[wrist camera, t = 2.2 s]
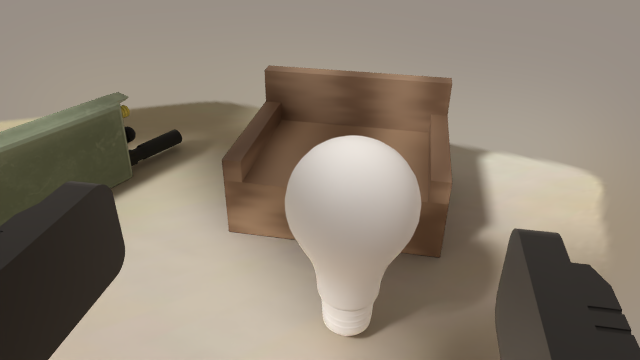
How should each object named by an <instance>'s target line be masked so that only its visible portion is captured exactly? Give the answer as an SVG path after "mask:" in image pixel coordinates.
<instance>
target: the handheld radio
mask: <svg viewBox="0 0 640 360" xmlns="http://www.w3.org/2000/svg"><path fill="white" fill-rule="evenodd" d="M127 98H128V96H126V95H124V94H121V93H119V92H118V93H113V94H110V95H106V96H103V97H101V98H98V99H95V100H92V101H89V102H86V103H83V104H80V105H77V106H74V107H71V108H68V109H66V110H63V111H60V112H57V113H54V114H51V115H48V116H45V117H42V118H39V119H37V120H34V121H31V122H28V123H25V124H22V125H19V126H16V127H13V128H11V129H8V130H5V131H2V132H0V226H1V225H2V224H4V223H5V222H6V221H8V220H9V219H10V218H11V217H13V216H14V215H15V214H17V213H19V212H21V211H24V210H26V209H28V208H30V207H32V206H34V205H36V204H38V203H40V202H41V201H42V200H44V199H45V198H46V197H47V196H49V195H50V194H51V193H52V192H54V191H55V190H56V189H57V188H59V187H60V186H61V185H63V184H64V183H66V182H68V181H75V182H85V183H95V184H104V185H106V186H108V187H109V188H112V187H114V186H116V185H118V184H120V183H122V182H124V181H126V180H128V179H130V178H131V177H132V176H133V173H132V168H131V166H133V165H135V164H137V163H138V161H140V160H142V159H143V160H144V159H146V158H149V157H151V156H153V155H155V154H157V153H159V152H162V151H164V150H166V149H168V148H170V147H173V146H175V145H177V144H179V143H181V142H182V136H181V134H180V132H179V131H177V130H172V131H170V132H168V133H165V134H163V135H161V136H159V137H156V138H154V139H152V140H150V141H148V142H145V143H143V144H141V145H139V146H137V148H136V149H133V150H128V145H127V143H129V142H131V141H133V140H134V139H135V135H136V134H135V131H134V130H133V129H132V128H131V127H124V123H123V118H125V117H127V116H129V114H130V111H129V109H128V107H127V106H124V105H122V106H120V103H121V102H123V101H125V100H126V99H127Z"/></svg>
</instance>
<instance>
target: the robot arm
mask: <svg viewBox="0 0 640 360" xmlns="http://www.w3.org/2000/svg"><path fill="white" fill-rule="evenodd" d="M124 257H125V245H124V240H123V236H122V231H121V227H120V223H119V219H118V214H117V210H116V206H115V201H114V197H113V194H112V191H111V190H110V188H109V187H108V186H106V185H104V184H95V183H85V182H75V181H68V182H66V183H64V184H63V185H61V186H60V187H59V188H57V189H56V190H55V191H54V192H52V193H51V194H50V195H49V196H47V197H46V198H45V199H44V200H42V201H41V202H40V203H38V204H36V205H34V206H32V207H30V208H28V209H26V210H24V211H21V212H19V213H17V214H15V215H14V216H13V217H11V218H10V219H9V220H8V221H6V222H5V223H4V224H2V225H1V226H0V360H48V359H49V358H50V357H51V355H52V354H53V353H54V352H55V351H56V349H57V348H58V347H59V346H60V345H61V343H62V342H63V341H64V340H65V338H66V337H67V336H68V335H69V334H70V332H71V331H72V330H73V329H74V327H75V326H76V325H77V324H78V323H79V321H80V320H81V319H82V318H83V316H84V315H85V314H86V313H87V312H88V310H89V309H90V308H91V307H92V305H93V304H94V303H95V302H96V301H97V299H98V298H99V297H100V296H101V294H102V293H103V292H104V291H105V290H106V288H107V287H108V286H109V285H110V283H111V282H112V281H113V280H114V279H115V277H116V276H117V275H118V273H119V272H120V270H121V268H122V265H123V262H124ZM495 323H496V332H497V338H498V345H499V352H500V358H501V360H640V348H639V346H638V344H637V341H636V339H635V337H634V335H631V328H630V326H629V324H628V322H627V320H626V317H625V315H623V314H622V309H621V306H620V304H619V302H618V300H617V298H616V296H615V293H614V291H613V289H612V287H611V286H610V285H609V284H608V283H607V282H606V281H605V280H604V279H603V278H602V277H601V276H600V275H599V274H598V273H597V272H596V271H595V270H594V269H593V268H592V267H591V266H590V265H587V264H578V263H571V262H570V259H569V256H568V254H567V251H566V248H565V246H564V243H563V240H562V238H561V236H560V234H558V233H553V232H544V231H534V230H524V229H514V230H513V231H512V233H511V236H510V240H509V244H508V248H507V253H506V257H505V261H504V266H503V270H502V274H501V279H500V283H499V287H498V292H497V297H496V307H495Z"/></svg>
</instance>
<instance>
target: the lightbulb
mask: <svg viewBox="0 0 640 360" xmlns="http://www.w3.org/2000/svg"><path fill="white" fill-rule="evenodd" d="M420 211H421V196H420V190H419V186H418V182H417V179H416V176H415V174H414V173H413V171H412V169H411V168H410V166H409V165H408V163H407V161H406V160H405V159H404V158H403V157H402V156H401V155H400V154H399V153H398V152H397V151H396V150H395V149H393V148H391V147H390V146H388V145H386V144H385V143H383V142H381V141H379V140H376V139H373V138H369V137H364V136H356V135H350V136H342V137H336V138H332V139H330V140H327V141H325V142H323V143H321V144H319V145H317V146H315V147H314V148H312V149H311V150H310V151H309V152H308V153H307V154H306V155H305V156H304V157H303V158H302V159H301V160H300V161H299V163H298V164H297V165H296V167H295V168H294V170H293V172H292V174H291V176H290V179H289V181H288V185H287V190H286V195H285V212H286V218H287V221H288V224H289V228H290V230H291V232H292V234H293V236H294V237H295V239H296V241H297V242H298V244H299V245H300V247H301V248H302V250H303V251H304V252H305V254H306V255H307V256H308V258H309V259H310V260H311V262H312V264H313V267H314V269H315V273H316V278H317V289H318V293H319V295H320V297H321V298H322V312H323V320H324V323H325V325H326V326H327V327H328V328H329V329H330V330H331V331H333V332H334V333H336V334H339V335H343V336H353V335H357V334H359V333H361V332H363V331H364V330H365V329H366V328H367V327H368V326H369V324H370V320H371V316H372V309H373V303H374V301H375V300H376V298H377V296H378V294H379V290H380V284H381V280H382V277H383V275H384V272H385V270H386V269H387V267H388V265H389V264H390V263H391V262H392V261H393V260H394V259H395V258H396V257H397V256H398V255H399V254H400V253H401V251H402V250H403V249H404V248H405V246H406V245H407V244H408V243H409V241H410V240H411V238H412V236H413V234H414V232H415V230H416V227H417V225H418V223H419V218H420Z"/></svg>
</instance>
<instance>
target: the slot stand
mask: <svg viewBox="0 0 640 360" xmlns="http://www.w3.org/2000/svg"><path fill="white" fill-rule="evenodd" d="M265 87H266V102H265V103H264V105H263V106H262V107H261V109H260V110H259V111H258V113H257V114H256V115H255V117H254V118H253V119H252V121H251V122H250V123H249V125H248V126H247V127H246V128H245V130H244V131H243V132H242V134H241V135H240V136H239V138H238V139H237V140H236V142H235V143H234V144H233V146H232V147H231V148H230V150H229V151H228V152H227V154H226V155H225V156H224V158H223V159H222V166H223V176H224V186H225V196H226V206H227V215H228V225H229V231H230V232H238V233H246V234H254V235H262V236H270V237H279V238H287V239H295V237H294V236H293V234H292V232H291V230H290V228H289V224H288V221H287V218H286V212H285V195H286V190H287V185H288V181H289V179H290V176H291V174H292V172H293V170H294V168H295V167H296V165H297V164H298V163H299V161H300V160H301V159H302V158H303V157H304V156H305V155H306V154H307V153H308V152H309V151H310V150H311V149H312V148H314V147H315V146H317V145H319V144H321V143H323V142H325V141H327V140H330V139H332V138H336V137H342V136H350V135H356V136H364V137H369V138H373V139H376V140H379V141H381V142H383V143H385V144H386V145H388V146H390V147H391V148H393V149H395V150H396V151H397V152H398V153H399V154H400V155H401V156H402V157H403V158H404V159H405V160H406V161H407V163H408V165H409V166H410V168H411V169H412V171H413V173H414V174H415V176H416V179H417V182H418V186H419V190H420V196H421V211H420V218H419V223H418V225H417V227H416V230H415V232H414V234H413V236H412V238H411V240H410V241H409V243H408V244H407V245H406V246H405V248H404V249H403V250H402V251H401V253H408V254H417V255H425V256H433V257H440V254H441V248H442V242H443V236H444V230H445V223H446V217H447V211H448V205H449V199H450V193H451V187H452V173H451V159H450V145H449V132H448V117H447V114H448V108H449V101H450V95H451V88H452V79H451V78H441V77H427V76H412V75H398V74H382V73H369V72H355V71H340V70H326V69H311V68H297V67H296V68H295V67H283V66H268V67H267V68H266V69H265ZM295 240H296V239H295Z"/></svg>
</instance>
